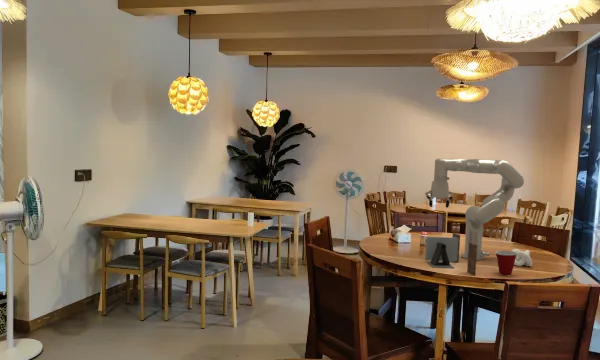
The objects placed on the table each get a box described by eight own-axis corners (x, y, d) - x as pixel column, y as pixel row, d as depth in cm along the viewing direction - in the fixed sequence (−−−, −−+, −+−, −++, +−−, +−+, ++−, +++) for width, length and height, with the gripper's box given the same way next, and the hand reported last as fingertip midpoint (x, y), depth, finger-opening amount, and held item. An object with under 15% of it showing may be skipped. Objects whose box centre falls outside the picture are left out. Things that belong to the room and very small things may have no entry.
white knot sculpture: (512, 261, 262) (513, 246, 262) (535, 265, 255) (536, 250, 254) (507, 265, 254) (508, 249, 253) (530, 269, 246) (531, 253, 245)
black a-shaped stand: (434, 265, 244) (435, 244, 243) (430, 262, 250) (431, 242, 249) (450, 265, 245) (451, 244, 244) (445, 263, 251) (446, 242, 250)
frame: (454, 259, 263) (455, 232, 262) (475, 275, 228) (477, 244, 227) (450, 259, 263) (452, 232, 262) (471, 275, 228) (473, 244, 227)
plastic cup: (493, 270, 240) (494, 248, 239) (515, 273, 236) (516, 250, 235) (494, 275, 230) (495, 252, 229) (517, 278, 226) (518, 255, 225)
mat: (447, 263, 253) (447, 262, 253) (454, 268, 241) (454, 267, 241) (426, 262, 253) (426, 261, 253) (432, 267, 241) (432, 266, 241)
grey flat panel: (457, 261, 254) (458, 238, 253) (425, 260, 254) (426, 236, 253) (455, 260, 256) (457, 237, 255) (424, 259, 256) (425, 236, 255)
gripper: (452, 179, 270) (451, 206, 271) (424, 178, 270) (423, 205, 272) (456, 179, 263) (455, 208, 264) (427, 178, 263) (426, 207, 264)
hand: (438, 207), depth 268 cm, fingers open, 9 cm apart
